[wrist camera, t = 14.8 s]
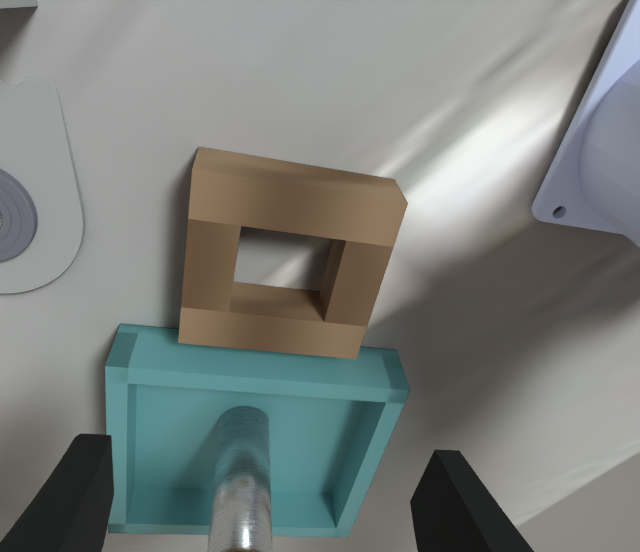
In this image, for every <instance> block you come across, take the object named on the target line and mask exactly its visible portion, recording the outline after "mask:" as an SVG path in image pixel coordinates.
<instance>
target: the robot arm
mask: <svg viewBox="0 0 640 552" xmlns="http://www.w3.org/2000/svg"><path fill="white" fill-rule="evenodd" d="M559 206H561V209H560V211H559V212H557V213H555V214H553V211H554V210H555V209H556V208H558V207H559ZM531 212H532V214H533V216H534V217H535V218H536V219H537V220H539V221H541V222H547V223H553V224H560V225H566V226H572V227H579V228H585V229H591V230H598V231H604V232H610V233H617V234H623V235H625V236H626V237H627V238H628V239H630V240H631V241H632V242H633V243H634V244H636V245H637V246H638V247H639V248H640V0H629V2H628V4H627V6H626V8H625V10H624V12H623V14H622V16H621V19H620V21H619V23H618V25H617V27H616V29H615V31H614V33H613V35H612V38H611V40H610V42H609V44H608V46H607V48H606V50H605V52H604V54H603V56H602V59H601V61H600V63H599V65H598V67H597V69H596V71H595V73H594V75H593V78H592V80H591V82H590V84H589V86H588V88H587V90H586V92H585V94H584V97H583V99H582V101H581V103H580V105H579V107H578V109H577V111H576V113H575V115H574V118H573V120H572V122H571V124H570V126H569V128H568V130H567V132H566V134H565V137H564V139H563V141H562V143H561V145H560V147H559V149H558V151H557V153H556V155H555V158H554V160H553V162H552V164H551V166H550V168H549V170H548V172H547V174H546V177H545V179H544V181H543V183H542V185H541V187H540V189H539V191H538V193H537V196H536V198H535V200H534V202H533V204H532V207H531ZM113 497H114V479H113V458H112V437H111V435H98V434H79V435H78V436H76V437H75V438H74V440H73V441H72V443H71V445H70V446H69V448H68V450H67V451H66V453H65V454H64V456H63V457H62V459H61V460H60V462H59V463H58V465H57V466H56V468H55V469H54V471H53V472H52V474H51V475H50V477H49V478H48V480H47V481H46V482H45V484H44V485H43V487H42V488H41V489H40V491H39V492H38V494H37V495H36V496H35V498H34V499H33V501H32V502H31V503H30V505H29V506H28V507H27V508H26V510H25V511H24V512H23V514H22V515H21V516H20V518H19V519H18V520H17V522H16V523H15V524H14V526H13V527H12V528H11V530H10V531H9V532H8V533H7V535H6V536H5V537H4V539H3V540H2V541H1V542H0V552H101V550H102V547H103V544H104V539H105V535H106V530H107V526H108V521H109V516H110V512H111V507H112V502H113ZM410 504H411V511H412V518H413V525H414V531H415V537H416V543H417V549H418V552H534V551H533V550H532V548H531V547H530V546H529V544H528V543H527V542H526V541H525V539H524V538H523V537H522V535H521V534H520V533H519V531H518V530H517V529H516V528H515V526H514V525H513V524H512V522H511V521H510V520H509V518H508V517H507V516H506V514H505V513H504V512H503V510H502V509H501V508H500V506H499V505H498V504H497V502H496V501H495V499H494V498H493V497H492V495H491V494H490V493H489V491H488V490H487V488H486V487H485V486H484V484H483V483H482V482H481V480H480V479H479V477H478V476H477V475H476V473H475V472H474V470H473V469H472V468H471V466H470V465H469V464H468V462H467V461H466V460H465V458H464V457H463V455H462V454H461V453H460V451H453V450H434V453H433V455H432V457H431V459H430V461H429V463H428V465H427V467H426V469H425V471H424V474H423V476H422V478H421V480H420V482H419V484H418V486H417V488H416V490H415V492H414V495H413V497H412V499H411V501H410Z"/></svg>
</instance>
